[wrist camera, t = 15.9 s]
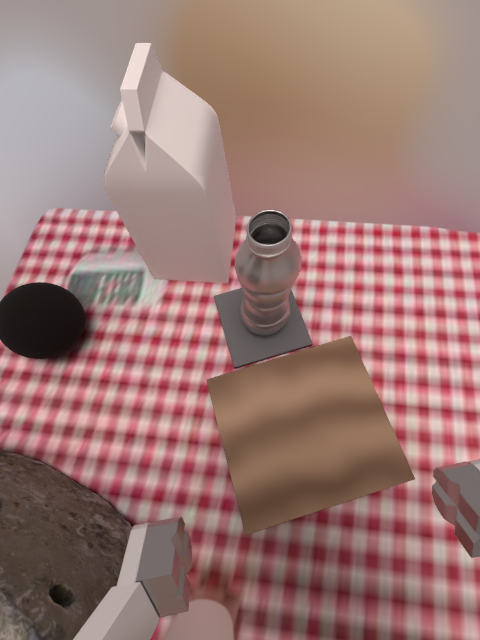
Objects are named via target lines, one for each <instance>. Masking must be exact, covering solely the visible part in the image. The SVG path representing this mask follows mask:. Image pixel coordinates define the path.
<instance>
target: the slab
mask: <svg viewBox="0 0 480 640" xmlns="http://www.w3.org/2000/svg"><path fill="white" fill-rule="evenodd" d="M207 384H208V388H209V392H210V396H211V400H212V403H213V407H214V411H215V415H216V419H217V423H218V427H219V431H220V435H221V439H222V443H223V447H224V451H225V455H226V459H227V463H228V467H229V471H230V475H231V479H232V483H233V487H234V491H235V495H236V498H237V502H238V506H239V510H240V514H241V518H242V522H243V526H244V530H245V534H246V535H247V534H250V533H253V532H256V531H259V530H262V529H265V528H268V527H271V526H274V525H277V524H280V523H283V522H286V521H289V520H292V519H296V518H299V517H302V516H305V515H308V514H311V513H314V512H317V511H320V510H323V509H326V508H329V507H332V506H335V505H338V504H341V503H344V502H347V501H350V500H353V499H356V498H359V497H362V496H365V495H368V494H371V493H374V492H377V491H380V490H383V489H386V488H389V487H392V486H396V485H399V484H402V483H405V482H408V481H411V480H414V479H415V478H414V475H413V473H412V471H411V469H410V466H409V464H408V462H407V460H406V457H405V455H404V453H403V451H402V449H401V446H400V444H399V442H398V440H397V437H396V435H395V433H394V431H393V428H392V426H391V424H390V422H389V420H388V417H387V415H386V413H385V411H384V408H383V406H382V404H381V402H380V399H379V397H378V395H377V393H376V391H375V388H374V386H373V384H372V382H371V379H370V377H369V375H368V373H367V370H366V368H365V366H364V364H363V362H362V359H361V357H360V355H359V353H358V350H357V348H356V346H355V344H354V342H353V339H352V337H351V336H349V337H345V338H342V339H339V340H336V341H332V342H329V343H326V344H322V345H319V346H316V347H312V348H309V349H306V350H303V351H299V352H296V353H293V354H289V355H286V356H283V357H280V358H276V359H273V360H270V361H266V362H263V363H260V364H256V365H253V366H250V367H247V368H243V369H240V370H237V371H233V372H230V373H227V374H223V375H220V376H217V377H214V378H210V379H207Z"/></svg>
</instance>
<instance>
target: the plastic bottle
mask: <svg viewBox="0 0 480 640" xmlns="http://www.w3.org/2000/svg"><path fill="white" fill-rule="evenodd" d="M291 231H292V226H291V222H290V219H289V218H288V217H287V216H286V215H285V214H284V213H282V212H280V211H277V210H264V211H260V212H258V213H256V214H255V215H254V216H253V217H252V218H251V219H250V220H249V222H248V225H247V236H246V240H245V241H244V242H243V243H242V245H241V246H240V248H239V250H238V252H237V255H236V259H235V269H236V273H237V277H238V279H239V282H240V284H241V286H242V289H243V301H242V304H241V309H240V314H241V319H242V321H243V323H244V324H245V326H246V327H247V328H248V329H249V330H250V331H251V332H253V333H255V334H257V335H263V336H264V335H271V334H274V333H276V332H278V331H279V330H280V329H281V328H282V327H283V326H284V325H285V324H286V322H287V320H288V318H289V315H290V303H289V293H290V290H291V288H292V286H293V284H294V282H295V281H296V279H297V277H298V274H299V272H300V269H301V265H302V258H301V254H300V250H299V247H298V245H297V244H296V242H295V241H294V240H293V239H292V234H291Z"/></svg>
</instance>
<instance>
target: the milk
mask: <svg viewBox="0 0 480 640" xmlns="http://www.w3.org/2000/svg"><path fill="white" fill-rule="evenodd" d="M120 91H121V96H122V101H121V103H120V104H119V107H118V109H117V111H116V114H115V116H114V119H113V121H112V124H111V127H110V129H111V130H112V131H114V132H115V133H117V135H116V138H115V141H114V144H113V147H112V150H111V153H110V156H109V159H108V163H107V166H106V169H105V172H104V185H105V189H106V192H107V194H108V196H109V198H110V199H111V201H112V203H113V205H114V207H115V208H116V210H117V212H118V214H119V216H120V217H121V219H122V221H123V223H124V225H125V227H126V228H127V230H128V232H129V234H130V236H131V237H132V239H133V241H134V243H135V245H136V246H137V248H138V250H139V252H140V254H141V256H142V257H143V259H144V261H145V263H146V265H147V266H148V268H149V270H150V272H151V274H152V275H153V277H154V279H160V280H177V281H194V282H211V283H228V282H229V274H230V266H231V257H232V249H233V241H234V233H235V224H236V214H235V209H234V204H233V198H232V192H231V187H230V181H229V176H228V170H227V164H226V158H225V153H224V147H223V142H222V136H221V131H220V125H219V120H218V117H217V115H216V113H215V111H214V109H213V108H211V106H210V105H209V104H208V103H206V102H205V101H204V100H203V99H201V98H200V97H199V96H197V95H196V94H194V93H193V92H192V91H190V90H189V89H187V88H186V87H185V86H183V85H182V84H180V83H179V82H178V81H176V80H175V79H174V78H172V77H171V76H169V75H168V74H166V73H165V72H162V68H161V66H160V63H159V61H158V59H157V56H156V53H155V51H154V48H153V46H152V44H151V43H136V44H135V47H134V50H133V53H132V56H131V59H130V62H129V65H128V68H127V71H126V74H125V77H124V80H123V83H122V85H121V89H120Z"/></svg>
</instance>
